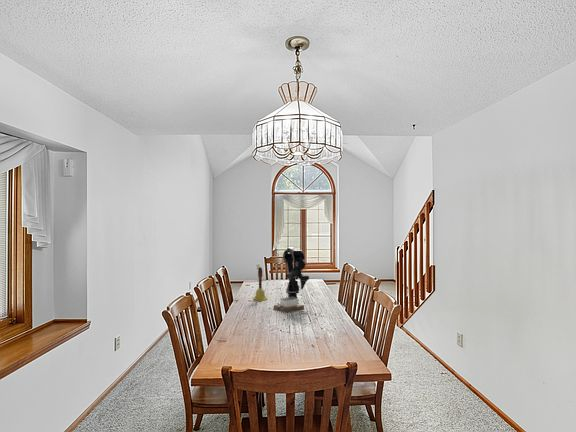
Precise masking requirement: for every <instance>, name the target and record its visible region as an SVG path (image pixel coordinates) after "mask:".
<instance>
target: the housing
mask: <svg viewBox="0 0 576 432" xmlns="http://www.w3.org/2000/svg"><path fill="white" fill-rule="evenodd" d="M297 300H298V297H297V298H295V297H288V296H286V297H281V298H280V304H281V306H284V307H289V306H295V305H297V304H298V301H297Z"/></svg>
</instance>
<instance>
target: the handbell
mask: <svg viewBox="0 0 576 432" xmlns="http://www.w3.org/2000/svg"><path fill="white" fill-rule="evenodd" d="M257 277H258V289H256V290H255V296H253V298H252V299H253V300H252V301H254V300H257V301H256V302H265V300H266V301H268V300H269V298H268V297H267V296H266V295H265V290H264V289H263V287H262V286H263V285H262V280H263V279H262V278H263V268H262V267H261V266H260V267H258V271H257Z"/></svg>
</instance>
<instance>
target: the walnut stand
mask: <svg viewBox="0 0 576 432" xmlns="http://www.w3.org/2000/svg"><path fill="white" fill-rule="evenodd" d="M304 309H305V304H301V303H300V304H299V303H297V305H295V306H289V307H284V306H281V303H280V304H274V305H273V310H277V311H280V312H283V313H292V312H296V311H300V310H304Z"/></svg>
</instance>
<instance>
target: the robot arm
mask: <svg viewBox="0 0 576 432" xmlns="http://www.w3.org/2000/svg"><path fill="white" fill-rule="evenodd" d="M305 257H306V256H305V253H304V251H303V250H302V249H295V247H290V246H289V247H287V248H286V250H284V252H283V254H282V259H283V262H284V263H285V264H286V268H287V273H286V278H287V279H288V284H287V287H286V290H285V291H286V292H285V293H286V294H287V297H295V298H297V302H299V300H298V296H297V295H298V294H299V293H300V289H301V290H303V289H304V287H305V285H306V283H307V282H308V281H309V280H310V276H309V275H303V273H302V271H303V270H304V269H305V268H306V262H305V261H304V260H305ZM296 279H299V281H298V280H296ZM299 282H300V285H299Z"/></svg>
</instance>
